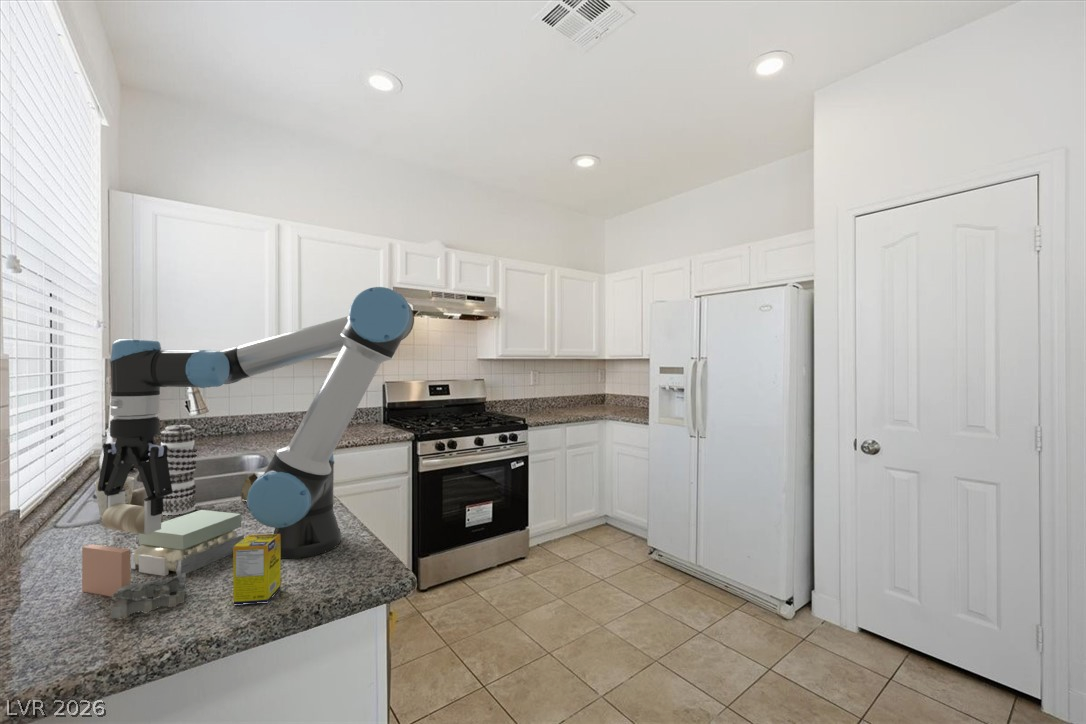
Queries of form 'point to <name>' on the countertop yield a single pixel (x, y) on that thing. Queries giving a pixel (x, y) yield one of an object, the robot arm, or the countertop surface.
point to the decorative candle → (180, 469)
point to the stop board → (105, 569)
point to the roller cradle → (152, 565)
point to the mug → (128, 492)
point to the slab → (191, 529)
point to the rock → (247, 486)
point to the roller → (125, 518)
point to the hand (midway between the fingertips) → (134, 528)
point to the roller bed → (190, 553)
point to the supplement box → (256, 568)
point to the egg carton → (147, 596)
